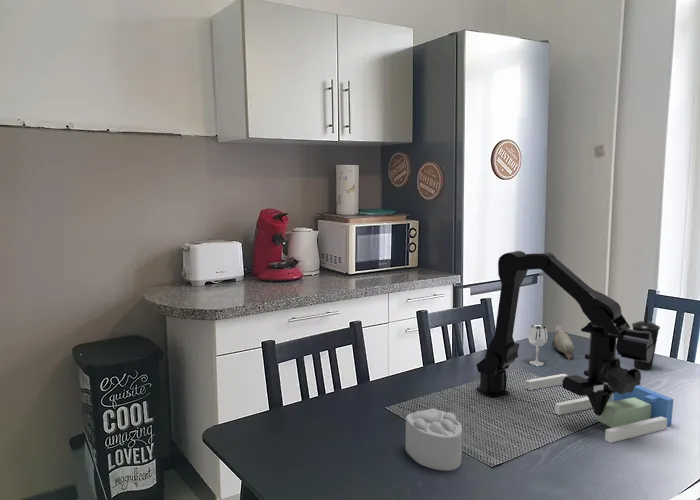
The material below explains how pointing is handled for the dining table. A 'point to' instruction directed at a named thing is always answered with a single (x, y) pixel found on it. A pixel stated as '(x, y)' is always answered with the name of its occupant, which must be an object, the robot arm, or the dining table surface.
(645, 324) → the drinking cup
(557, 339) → the decorative bird
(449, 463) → the lumpy-topped squat cylinder
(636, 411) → the plug block
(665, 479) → the dining table surface
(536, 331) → the wineglass
